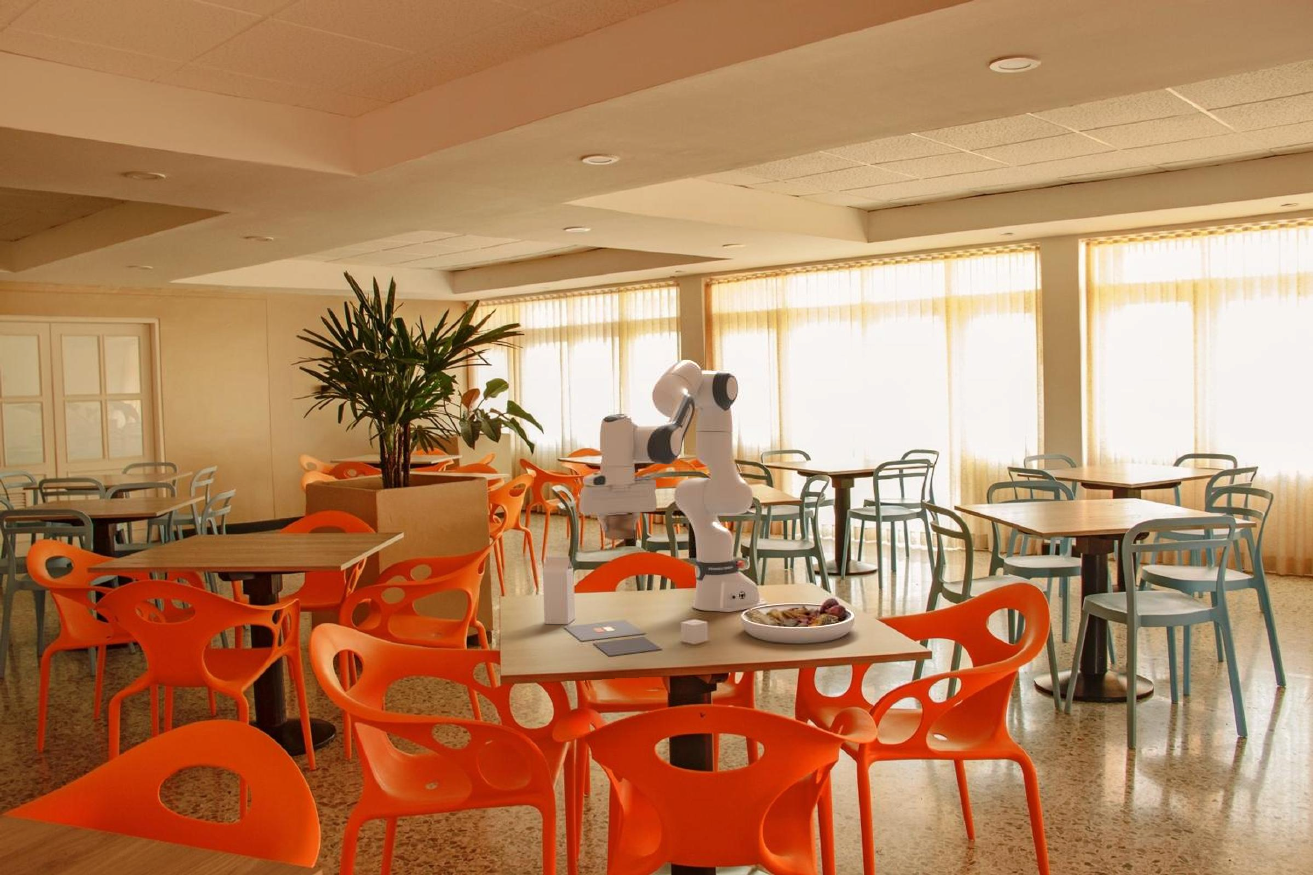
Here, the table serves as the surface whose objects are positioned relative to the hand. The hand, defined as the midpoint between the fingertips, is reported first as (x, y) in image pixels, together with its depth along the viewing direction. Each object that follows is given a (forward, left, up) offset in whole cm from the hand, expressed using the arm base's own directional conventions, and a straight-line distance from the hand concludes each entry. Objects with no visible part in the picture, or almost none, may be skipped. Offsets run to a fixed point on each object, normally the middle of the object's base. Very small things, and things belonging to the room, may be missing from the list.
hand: (619, 530), depth 259 cm
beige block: (-18, +4, -30) cm, 35 cm away
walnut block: (0, 0, -2) cm, 2 cm away
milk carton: (+8, -35, -30) cm, 46 cm away
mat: (0, +2, -30) cm, 30 cm away
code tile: (0, -18, -30) cm, 35 cm away
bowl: (-46, +8, -30) cm, 56 cm away
